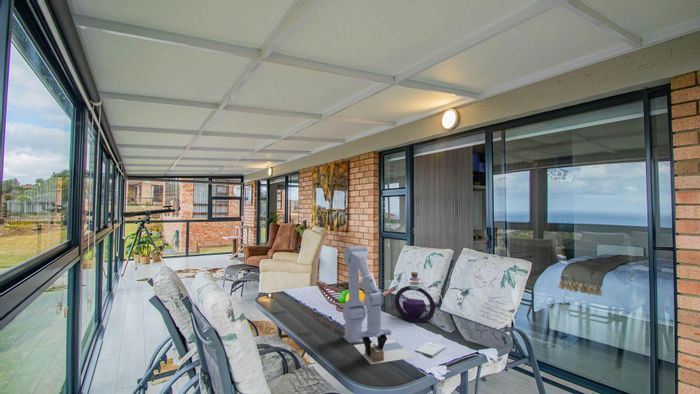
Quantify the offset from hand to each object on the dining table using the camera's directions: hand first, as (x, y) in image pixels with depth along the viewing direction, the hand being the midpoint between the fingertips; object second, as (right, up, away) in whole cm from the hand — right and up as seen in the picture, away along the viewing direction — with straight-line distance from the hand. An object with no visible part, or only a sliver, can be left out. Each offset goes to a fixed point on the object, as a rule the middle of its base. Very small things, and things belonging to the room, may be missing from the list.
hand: (374, 354), depth 149 cm
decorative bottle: (+26, -2, +53) cm, 59 cm away
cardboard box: (0, -1, 0) cm, 1 cm away
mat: (+4, -2, +6) cm, 7 cm away
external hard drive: (+25, -2, +8) cm, 26 cm away
